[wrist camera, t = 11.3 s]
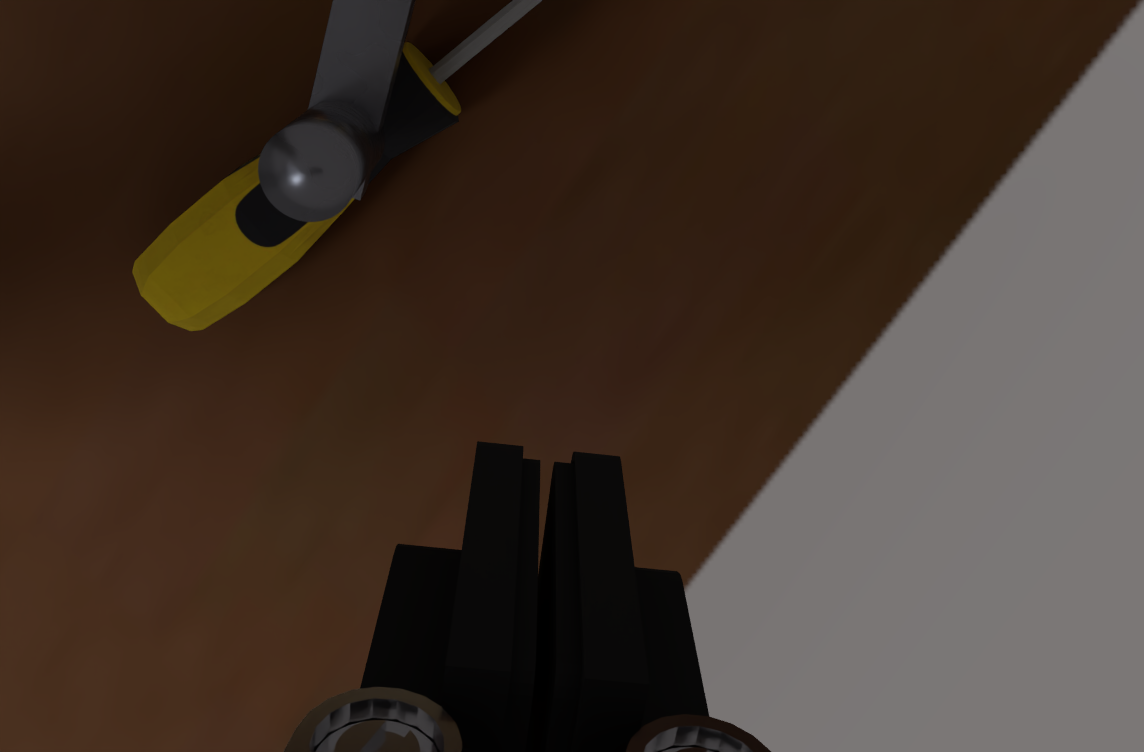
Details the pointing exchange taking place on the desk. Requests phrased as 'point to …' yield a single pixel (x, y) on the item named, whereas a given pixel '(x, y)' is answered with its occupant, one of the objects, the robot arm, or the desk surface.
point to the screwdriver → (267, 236)
